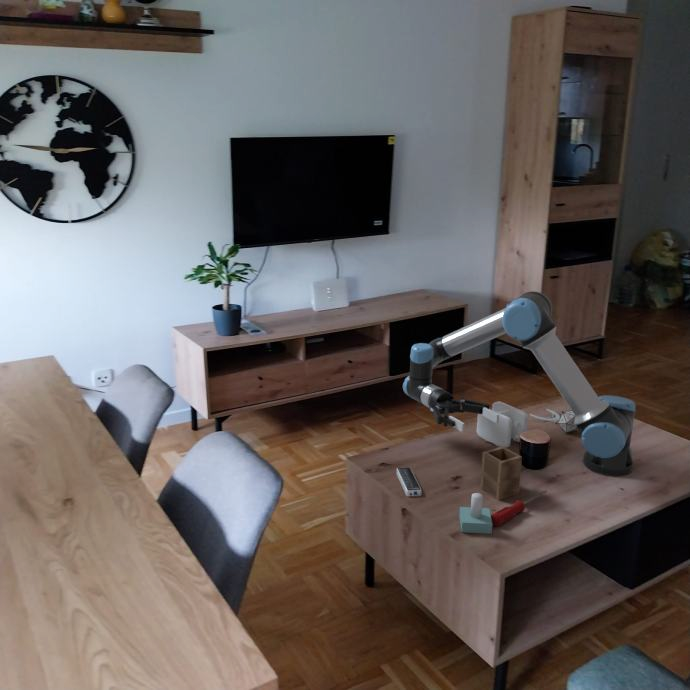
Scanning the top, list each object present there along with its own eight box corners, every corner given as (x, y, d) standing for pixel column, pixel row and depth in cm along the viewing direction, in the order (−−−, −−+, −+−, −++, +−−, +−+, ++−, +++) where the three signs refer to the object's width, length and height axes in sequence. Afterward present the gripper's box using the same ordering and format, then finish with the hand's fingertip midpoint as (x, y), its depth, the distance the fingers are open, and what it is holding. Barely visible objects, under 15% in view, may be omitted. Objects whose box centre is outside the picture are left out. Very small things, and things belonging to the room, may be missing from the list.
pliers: (548, 406, 271) (578, 420, 259) (547, 410, 272) (578, 424, 259) (529, 411, 266) (560, 426, 254) (528, 415, 267) (559, 430, 255)
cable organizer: (473, 436, 248) (476, 405, 245) (494, 428, 254) (497, 398, 251) (506, 451, 237) (509, 419, 233) (527, 443, 243) (530, 412, 239)
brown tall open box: (500, 481, 217) (503, 446, 213) (518, 493, 210) (522, 456, 207) (480, 488, 213) (482, 452, 209) (498, 500, 207) (501, 463, 203)
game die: (572, 442, 252) (588, 428, 245) (550, 434, 252) (566, 420, 244) (572, 422, 258) (587, 408, 251) (551, 414, 257) (566, 400, 250)
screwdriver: (551, 498, 208) (552, 487, 207) (498, 528, 192) (499, 517, 191) (541, 493, 211) (542, 483, 210) (488, 523, 195) (489, 512, 194)
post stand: (488, 517, 197) (490, 489, 195) (491, 533, 190) (494, 504, 187) (459, 516, 198) (461, 487, 195) (461, 532, 190) (463, 502, 188)
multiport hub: (409, 473, 222) (410, 466, 222) (421, 496, 209) (421, 489, 208) (396, 474, 222) (396, 467, 221) (406, 497, 208) (407, 490, 208)
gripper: (466, 403, 239) (510, 426, 221) (405, 417, 227) (447, 443, 209) (468, 382, 236) (512, 404, 219) (406, 395, 224) (449, 419, 207)
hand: (480, 423), depth 214 cm, fingers open, 13 cm apart
